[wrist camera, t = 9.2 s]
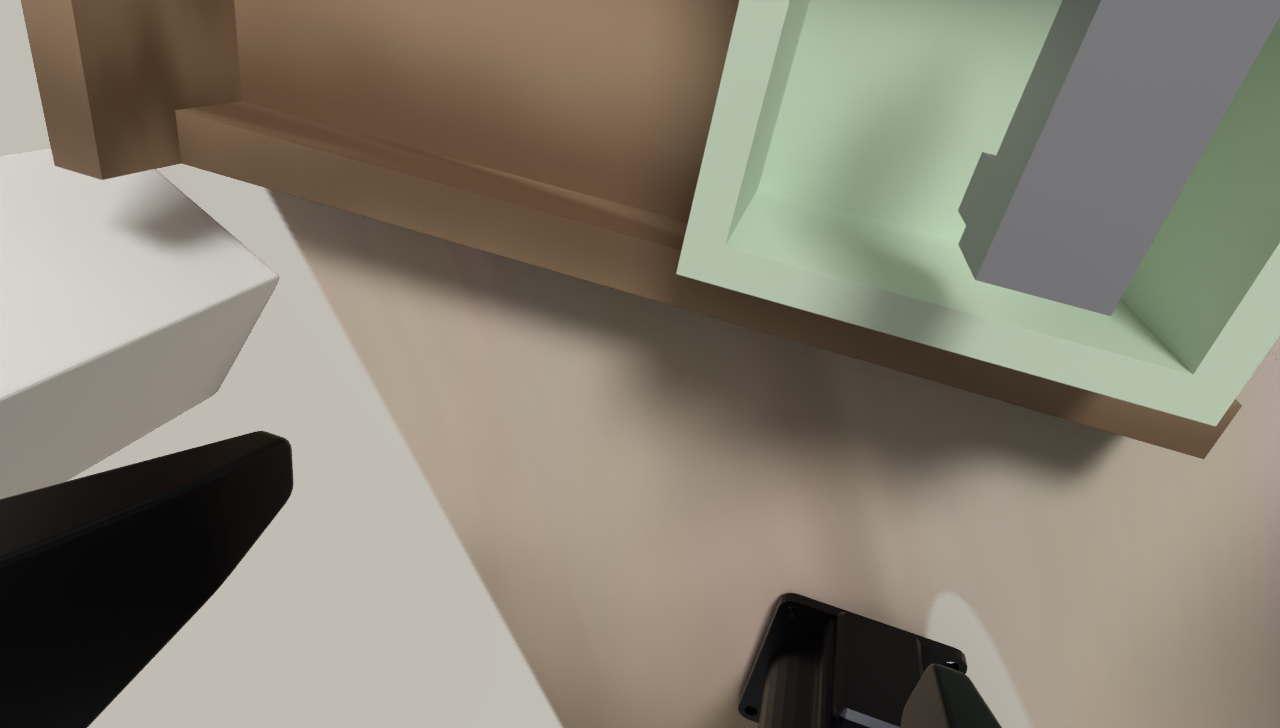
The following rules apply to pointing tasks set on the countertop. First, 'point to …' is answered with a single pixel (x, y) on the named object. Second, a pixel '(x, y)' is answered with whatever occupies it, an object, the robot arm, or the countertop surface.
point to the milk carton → (109, 313)
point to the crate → (1010, 183)
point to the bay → (471, 141)
